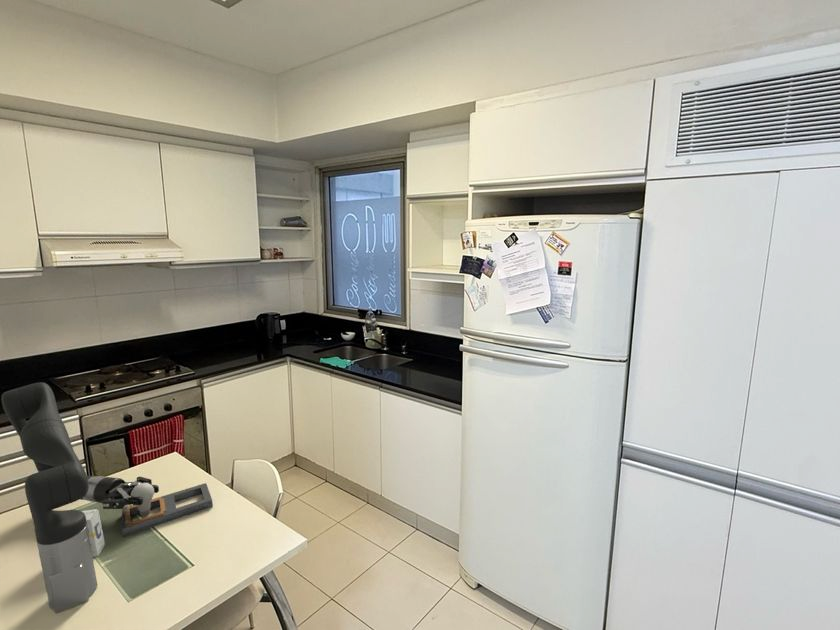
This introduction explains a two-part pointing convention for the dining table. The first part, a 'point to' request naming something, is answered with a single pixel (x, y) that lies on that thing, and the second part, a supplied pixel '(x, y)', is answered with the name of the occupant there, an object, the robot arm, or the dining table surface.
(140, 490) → the lightbulb
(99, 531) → the ink box
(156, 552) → the dining table surface
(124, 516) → the rail
